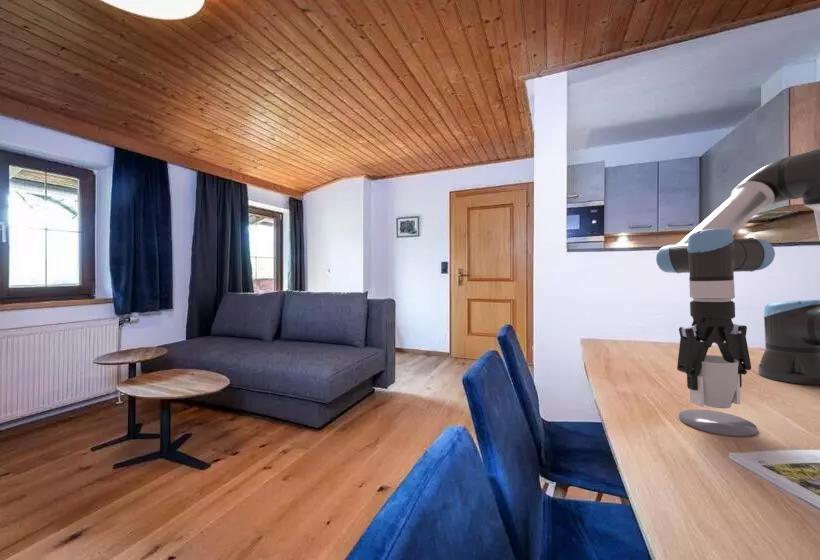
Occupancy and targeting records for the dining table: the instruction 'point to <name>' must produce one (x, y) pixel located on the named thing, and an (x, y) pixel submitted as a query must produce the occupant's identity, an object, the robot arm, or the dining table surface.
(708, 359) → the cup
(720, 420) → the coaster
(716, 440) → the dining table surface
